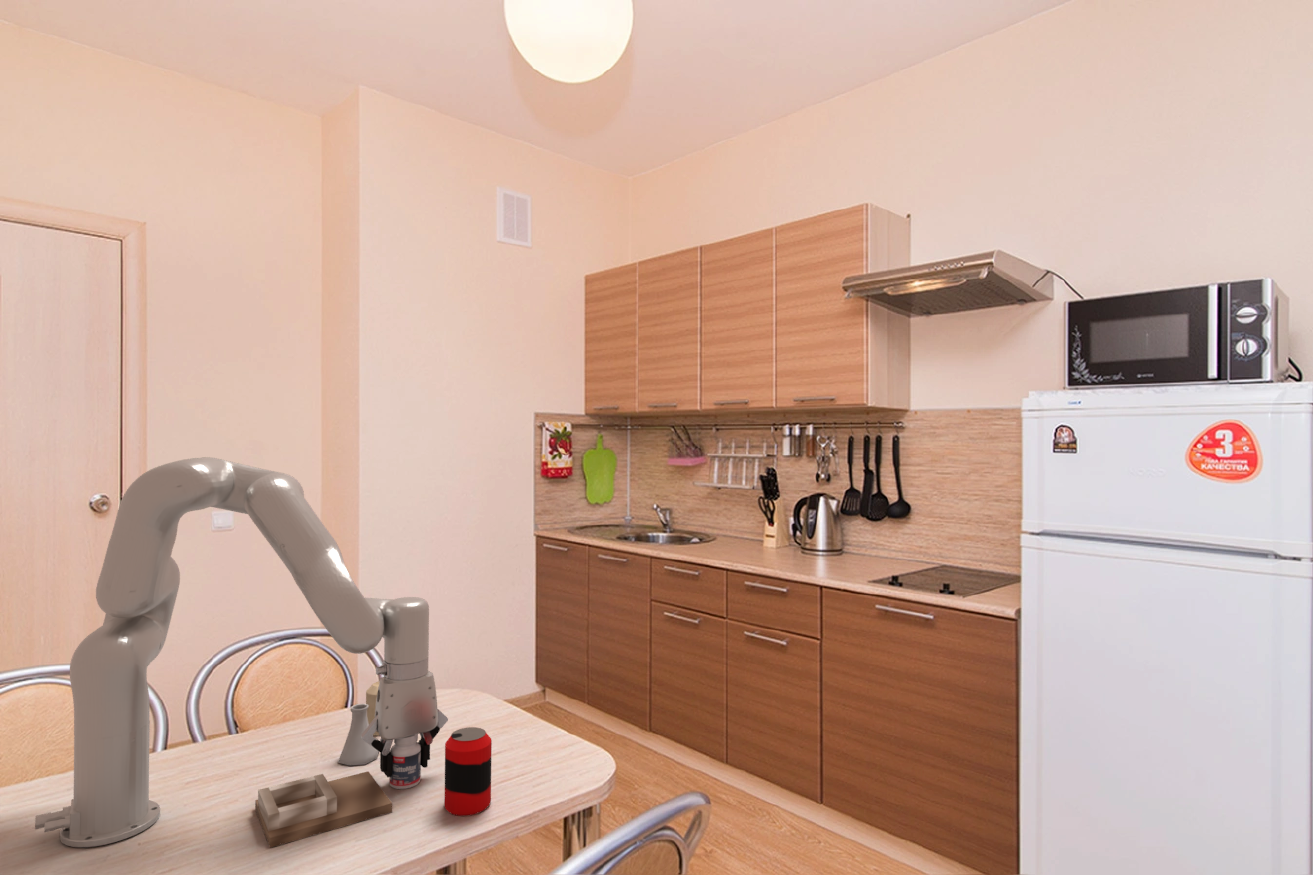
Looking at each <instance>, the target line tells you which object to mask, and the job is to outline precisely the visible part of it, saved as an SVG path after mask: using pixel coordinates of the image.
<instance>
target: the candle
mask: <svg viewBox="0 0 1313 875" xmlns="http://www.w3.org/2000/svg"><path fill="white" fill-rule="evenodd" d="M379 683H380V680H379V681H376V682H374V683H372V684H371V685H370V686H369V687H368V689H367V690H366V691H365V704H368V705H369V707H368V709H367V718H368V724H370V723H371V722H372V721H373V719H374V718H375V707H376V699H377V693H378V687H379ZM376 736H377V737H378V736H379V737H380V735H379V733H378V732H375V733H374V734H373V737H376Z"/></svg>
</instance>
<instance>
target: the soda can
mask: <svg viewBox="0 0 1313 875" xmlns="http://www.w3.org/2000/svg"><path fill="white" fill-rule="evenodd" d="M491 801H492V738H491V737H490V735H489V734H488V733H487V731H486V730H485V729H484V728H481V727H475V726H471V727H470V726H469V727H468V726H467V727H462V728H458V729H456V730H455V731H453V732H452V733H451V735H450V736H449V737H448V739H447V740H446V741H445V743H444V804H443V805H444V806H443V807H444V809H445V810H446V811H447V812H448V813H449V814H451V815H453V816H458V817H467V816H473V815H477V814H480V813H481V812H484V811H485V810H486V809H487V808H488V807H489V806H490V804H491Z"/></svg>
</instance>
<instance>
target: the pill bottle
mask: <svg viewBox="0 0 1313 875" xmlns="http://www.w3.org/2000/svg"><path fill="white" fill-rule="evenodd" d="M418 739H419V734H415V735H411V736H407V737H403V738H398V739H394V740H393V743H394V744H393V745H391V748H390V753H391V754H392V776H391V777H388V778H389V780H388V781H389V782H388V784H389V786H390V787H391V788H393V789H397V790H405V789H411V788H413V787H415V786H417V785H419V783H420V781H421V776H422V775H421V773H422V772H421V771H422V770H421V767H422V766H421V746H420V744H419V743H418V742H419V740H418Z"/></svg>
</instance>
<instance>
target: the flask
mask: <svg viewBox="0 0 1313 875" xmlns="http://www.w3.org/2000/svg"><path fill="white" fill-rule="evenodd" d="M368 707H369V705H368V704H366V703H357V704H354V705H352V706H351V707H350V712H351V723H350V726H349V731H348V733H347V737H346V740H345V743H344V745H343V747H342V750H341V754H340V756H339V759H338V761H337V763H339V764H342V765H346V766H359V765H360V766H362V765H366V764H368V763H371V762H372V761H375V760H376V759H378V756H379V754H380V752H379V751H378V750H376V749H375V748H374V747H373V746H371V745H369V744H368V743H366V742H365V741H363V740H362V738H361V734H362V733H363V732H364V731H365V729H366V728H367V727H368V726H369V724H368V718H367V709H368Z"/></svg>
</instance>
